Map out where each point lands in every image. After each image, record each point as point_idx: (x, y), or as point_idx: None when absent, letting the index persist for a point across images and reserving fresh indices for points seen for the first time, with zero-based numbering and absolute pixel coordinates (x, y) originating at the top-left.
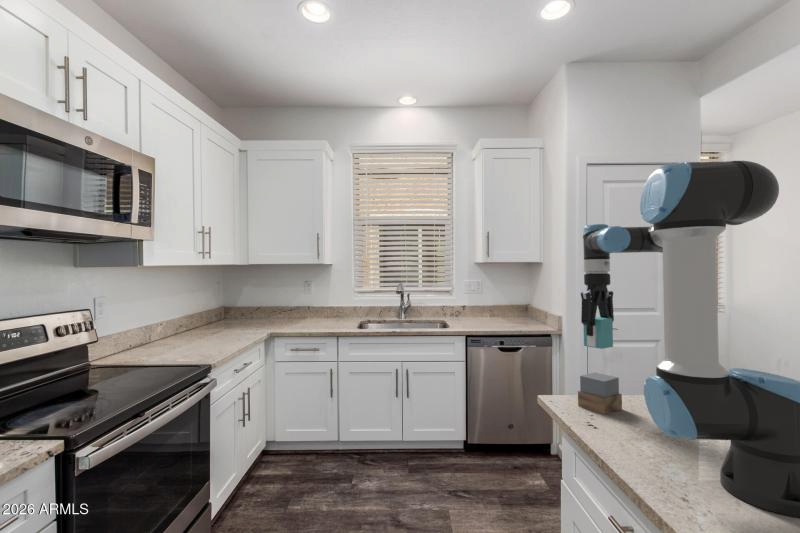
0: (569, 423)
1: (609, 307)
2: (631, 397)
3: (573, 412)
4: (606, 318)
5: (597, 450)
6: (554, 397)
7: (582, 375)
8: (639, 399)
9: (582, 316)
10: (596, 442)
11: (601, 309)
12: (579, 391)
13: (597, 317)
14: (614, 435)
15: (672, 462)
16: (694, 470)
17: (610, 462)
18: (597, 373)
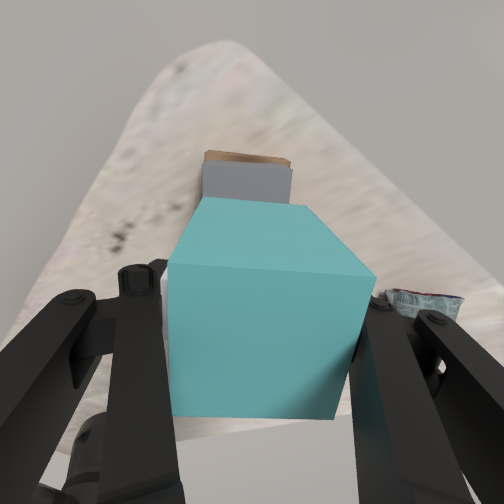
0: (84, 205)
1: (481, 481)
2: (386, 200)
3: (154, 170)
4: (297, 399)
5: (30, 301)
6: (222, 51)
7: (215, 165)
8: (382, 219)
9: (24, 342)
10: (56, 285)
11: (369, 430)
12: (205, 157)
13: (327, 322)
14: (115, 287)
15: (103, 370)
16: (106, 389)
17: (14, 330)
18: (285, 184)
